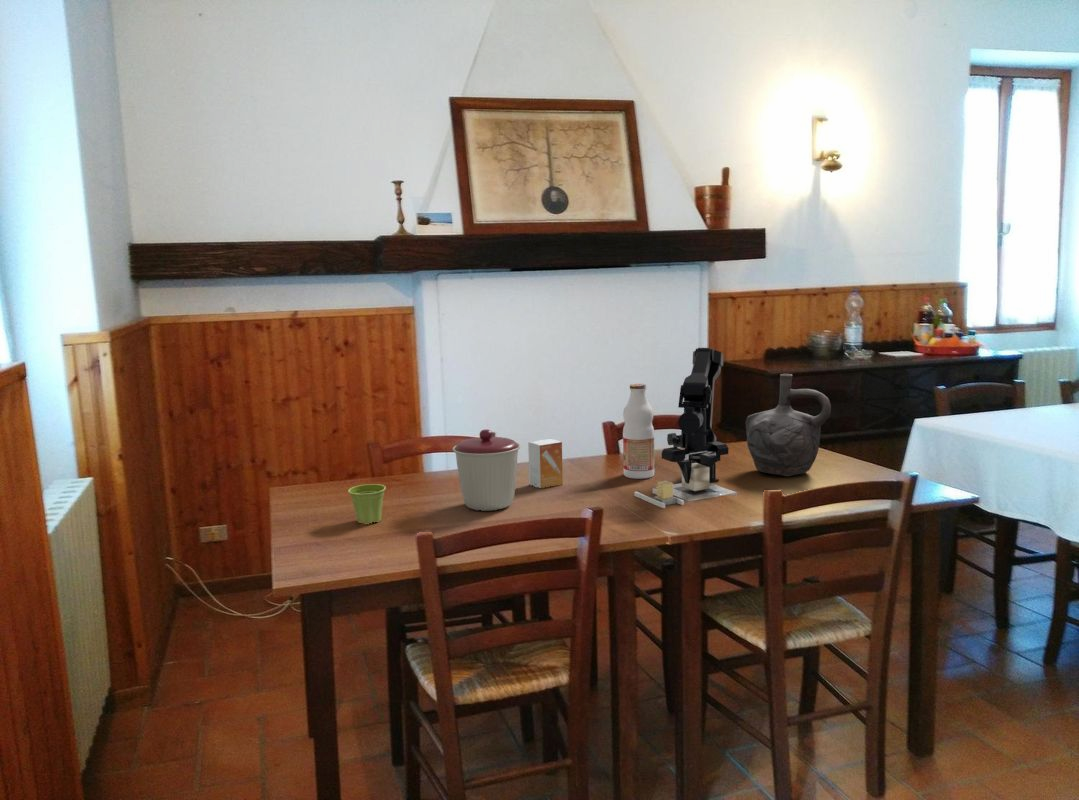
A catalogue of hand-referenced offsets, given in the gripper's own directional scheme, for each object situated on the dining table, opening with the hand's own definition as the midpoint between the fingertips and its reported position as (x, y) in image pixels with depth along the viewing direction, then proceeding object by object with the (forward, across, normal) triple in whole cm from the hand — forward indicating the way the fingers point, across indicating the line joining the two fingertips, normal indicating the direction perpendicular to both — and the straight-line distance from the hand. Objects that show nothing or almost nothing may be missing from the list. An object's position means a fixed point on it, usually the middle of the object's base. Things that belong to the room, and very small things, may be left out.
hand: (695, 481), depth 228 cm
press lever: (+2, +14, +6) cm, 15 cm away
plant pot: (+4, +86, -22) cm, 89 cm away
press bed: (+4, 0, 0) cm, 4 cm away
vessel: (+4, -36, -5) cm, 37 cm away
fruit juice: (+4, +2, -26) cm, 26 cm away
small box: (+4, +31, -31) cm, 44 cm away
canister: (+4, +54, -19) cm, 57 cm away
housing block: (+2, 0, 0) cm, 2 cm away
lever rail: (+4, +14, +3) cm, 15 cm away
